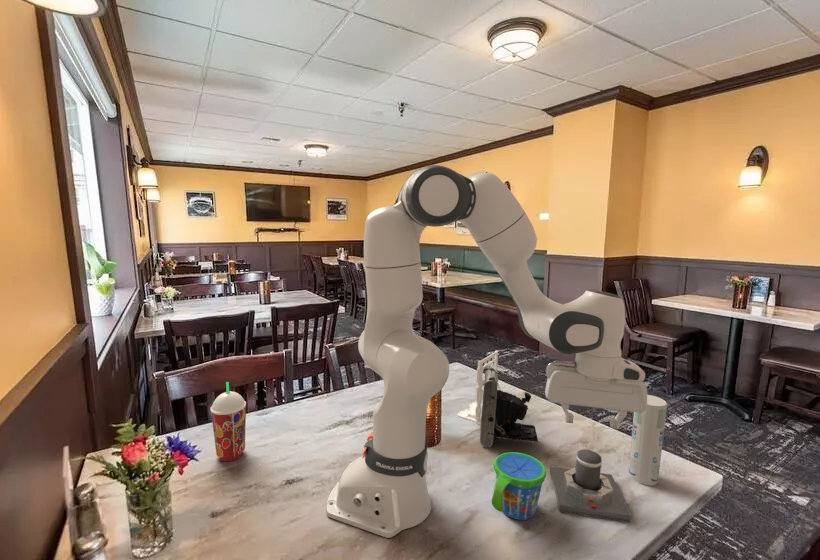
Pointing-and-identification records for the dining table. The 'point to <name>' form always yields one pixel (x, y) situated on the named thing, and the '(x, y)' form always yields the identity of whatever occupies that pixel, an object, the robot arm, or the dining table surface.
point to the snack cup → (517, 484)
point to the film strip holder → (479, 390)
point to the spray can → (647, 441)
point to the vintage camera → (503, 414)
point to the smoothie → (229, 424)
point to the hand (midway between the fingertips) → (591, 424)
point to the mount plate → (588, 496)
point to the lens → (588, 469)
